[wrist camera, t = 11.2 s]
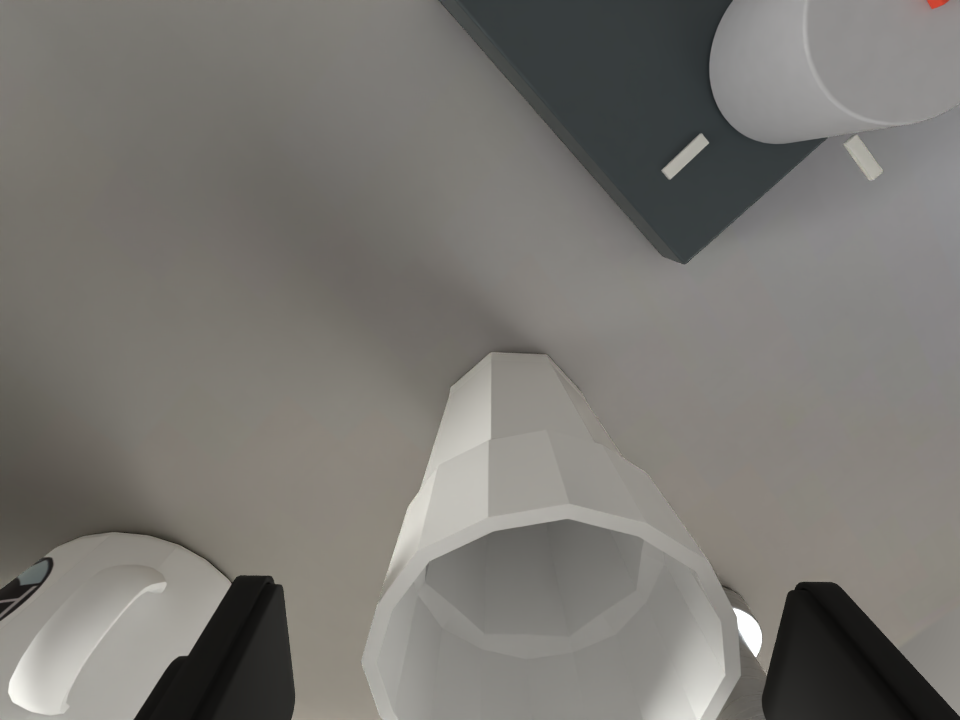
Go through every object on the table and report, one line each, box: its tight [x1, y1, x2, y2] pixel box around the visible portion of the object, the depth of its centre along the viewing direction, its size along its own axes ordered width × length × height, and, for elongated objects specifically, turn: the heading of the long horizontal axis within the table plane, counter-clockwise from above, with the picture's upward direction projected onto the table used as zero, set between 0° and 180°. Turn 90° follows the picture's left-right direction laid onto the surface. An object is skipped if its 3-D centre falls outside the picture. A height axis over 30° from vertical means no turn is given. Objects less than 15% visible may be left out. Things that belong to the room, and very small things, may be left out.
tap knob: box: [709, 0, 960, 144], centre depth 12 cm, size 4×4×5 cm
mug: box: [0, 532, 231, 720], centre depth 19 cm, size 13×10×8 cm
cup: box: [361, 352, 741, 720], centre depth 15 cm, size 7×7×11 cm
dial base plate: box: [439, 0, 883, 264], centre depth 15 cm, size 13×10×2 cm
